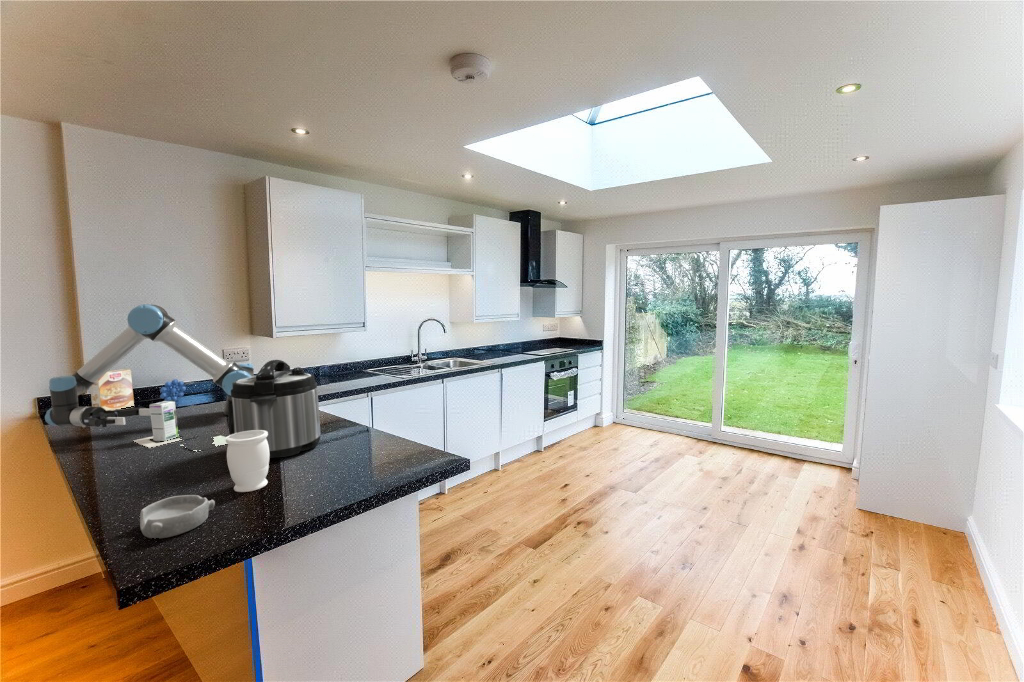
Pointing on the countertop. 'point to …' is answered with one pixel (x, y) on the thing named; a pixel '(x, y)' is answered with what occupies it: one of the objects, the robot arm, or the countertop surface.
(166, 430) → the syrup box
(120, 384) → the coffeecake box
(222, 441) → the mat
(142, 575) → the countertop surface
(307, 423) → the pressure cooker
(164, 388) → the grapes
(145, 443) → the frame
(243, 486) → the jar
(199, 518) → the dish
